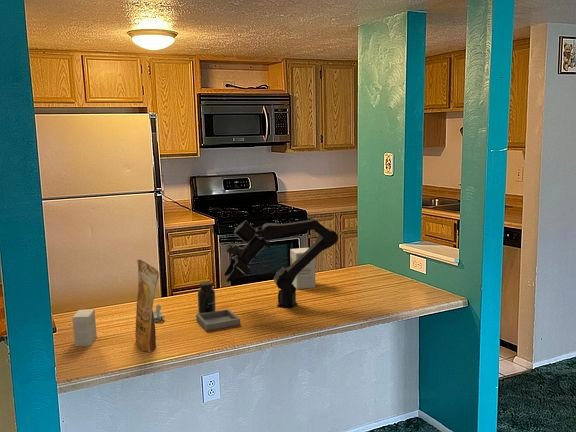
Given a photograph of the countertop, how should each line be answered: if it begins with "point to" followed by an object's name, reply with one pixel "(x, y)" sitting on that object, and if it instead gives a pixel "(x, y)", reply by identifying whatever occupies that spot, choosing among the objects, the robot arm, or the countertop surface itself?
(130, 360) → the countertop surface
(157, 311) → the pacifier
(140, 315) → the pancake mix bag
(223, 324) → the tray
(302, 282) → the supplement box
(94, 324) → the small box
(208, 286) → the supplement bottle
